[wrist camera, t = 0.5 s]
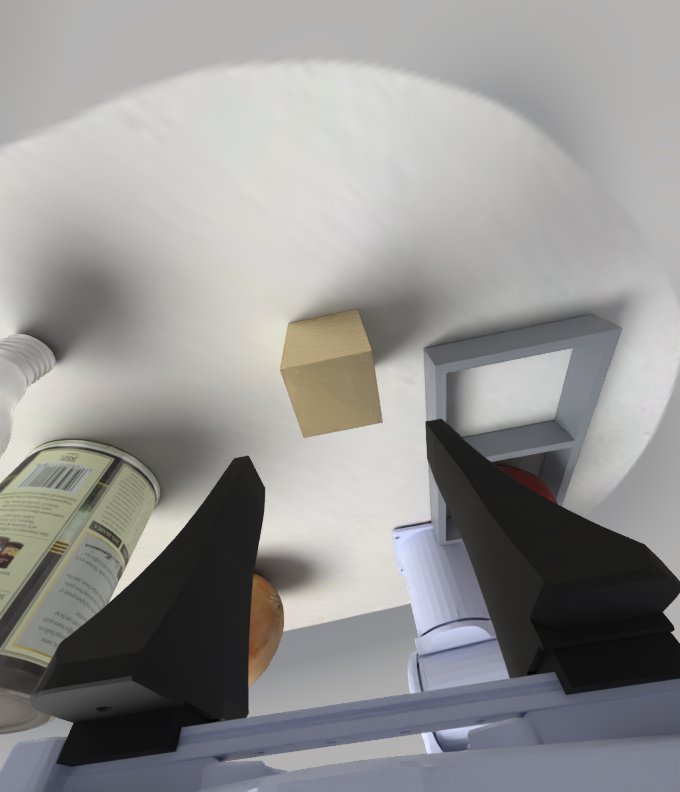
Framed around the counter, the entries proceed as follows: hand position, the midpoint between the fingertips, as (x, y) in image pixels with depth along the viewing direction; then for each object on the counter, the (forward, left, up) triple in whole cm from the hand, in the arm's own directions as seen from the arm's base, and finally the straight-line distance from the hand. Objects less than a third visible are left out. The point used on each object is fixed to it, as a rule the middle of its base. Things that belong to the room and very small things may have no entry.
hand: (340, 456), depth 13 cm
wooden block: (0, 0, -10) cm, 10 cm away
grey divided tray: (-12, -12, -10) cm, 20 cm away
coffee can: (-8, +22, -10) cm, 26 cm away
